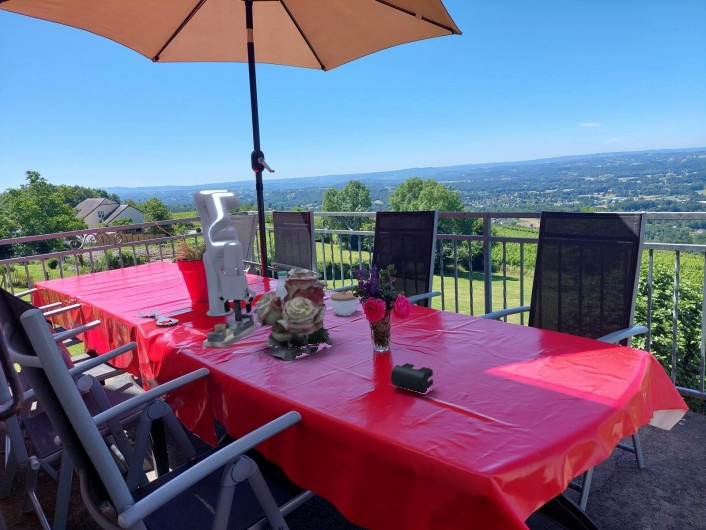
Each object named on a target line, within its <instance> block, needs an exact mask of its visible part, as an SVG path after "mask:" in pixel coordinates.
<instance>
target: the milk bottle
mask: <svg viewBox="0 0 706 530" xmlns="http://www.w3.org/2000/svg"><path fill="white" fill-rule="evenodd" d="M277 277H278V279H277V283H276V286H275V293H277V294H278V295H281V296H286V295H287V290H286V289H285V287H284V283H286V282H285V279H287V278H288V271H286V270H281V271H278V272H277Z"/></svg>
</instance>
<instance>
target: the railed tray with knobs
mask: <svg viewBox="0 0 706 530" xmlns="http://www.w3.org/2000/svg"><path fill="white" fill-rule="evenodd" d="M242 318H250V322H249V323H247V324H246V325H244V326H242V327H241V328H239V329H238V330H231V329H229V328H228V322H227V323H224V324H225V327H226V335H227V337H226V338H225V337H224V333H218V332H215V330H213V331H212V332H211V331H210V332H208V333H207V334H206V339H205V340H203V341H202V346H203V348H204V347H207V348H208V347H210V348H228V347H230V346H232V345H233V344H235V343H236V342H238V341H239V340H240V339H242V338H243V337H245V336H246V335H248V334H249V333H251V332H252V331H254V330H255V329H257V322H256V323H255V321H254V313H242Z"/></svg>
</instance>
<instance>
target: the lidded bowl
mask: <svg viewBox="0 0 706 530" xmlns="http://www.w3.org/2000/svg"><path fill="white" fill-rule="evenodd" d="M352 293H353V291H352V292H351V291H349V292H347V291H346V290H343V291H341V292H336V293H332V294H331V295H330V297H331V298H330V305H331V308H332V310H333V311H334V313H336V314H339V315H348V314H352V313H353V314H354V313H355V312H356V310H357V308H358V304H359V303H358V299H359V298H355V297H354V296H353V294H352ZM353 314H352V315H353Z"/></svg>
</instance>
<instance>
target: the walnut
mask: <svg viewBox="0 0 706 530" xmlns="http://www.w3.org/2000/svg"><path fill="white" fill-rule="evenodd" d="M225 324H226V323H218V324H215V325H214V331H215V332H218V333H224V337H225V338H226V337H227V335H226V327H225Z"/></svg>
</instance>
